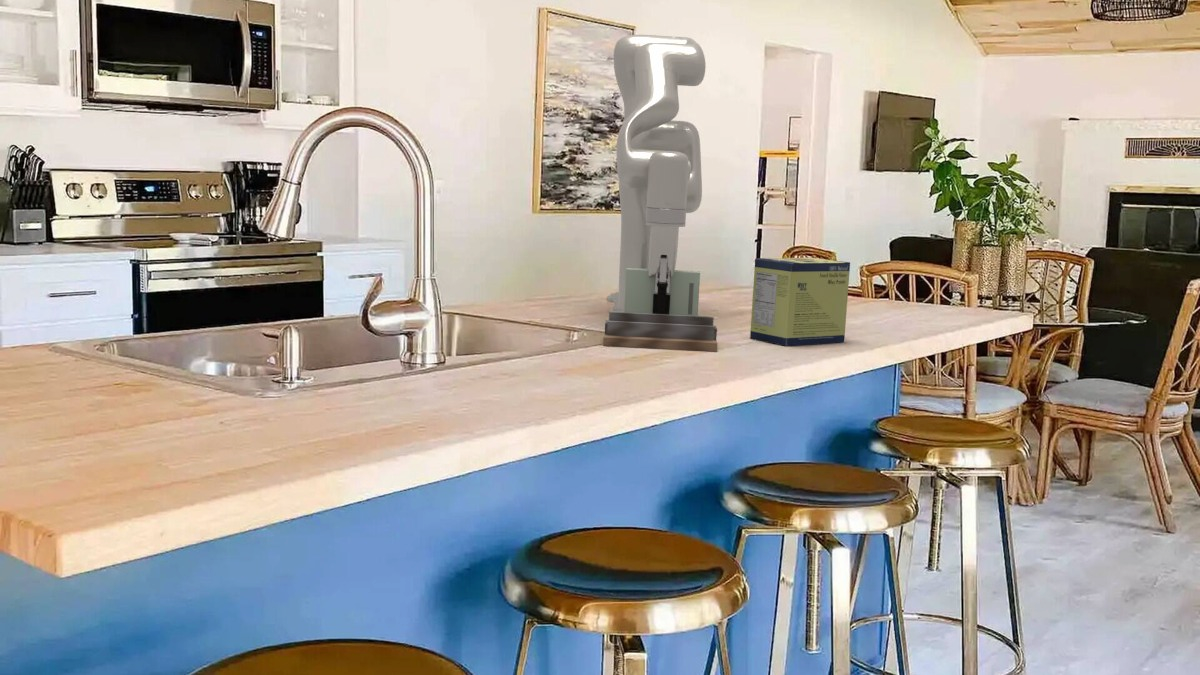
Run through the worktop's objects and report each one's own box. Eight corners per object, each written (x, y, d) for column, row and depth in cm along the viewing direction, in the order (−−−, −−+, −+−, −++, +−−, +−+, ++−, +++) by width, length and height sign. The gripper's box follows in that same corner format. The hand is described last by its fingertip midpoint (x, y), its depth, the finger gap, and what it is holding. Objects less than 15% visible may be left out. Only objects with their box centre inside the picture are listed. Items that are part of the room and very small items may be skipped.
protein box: (845, 342, 225) (851, 261, 223) (786, 347, 216) (791, 262, 214) (807, 335, 234) (812, 256, 231) (748, 338, 225) (753, 257, 222)
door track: (603, 345, 207) (604, 317, 207) (606, 336, 219) (607, 309, 219) (716, 351, 207) (718, 323, 206) (713, 341, 218) (715, 314, 218)
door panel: (623, 331, 225) (626, 269, 223) (623, 329, 228) (626, 267, 226) (696, 335, 224) (700, 272, 222) (696, 333, 227) (699, 271, 226)
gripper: (646, 214, 231) (642, 307, 234) (645, 219, 215) (640, 318, 218) (684, 216, 231) (679, 309, 234) (686, 221, 215) (680, 321, 217)
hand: (660, 313), depth 226 cm, fingers closed on door panel, 3 cm apart
